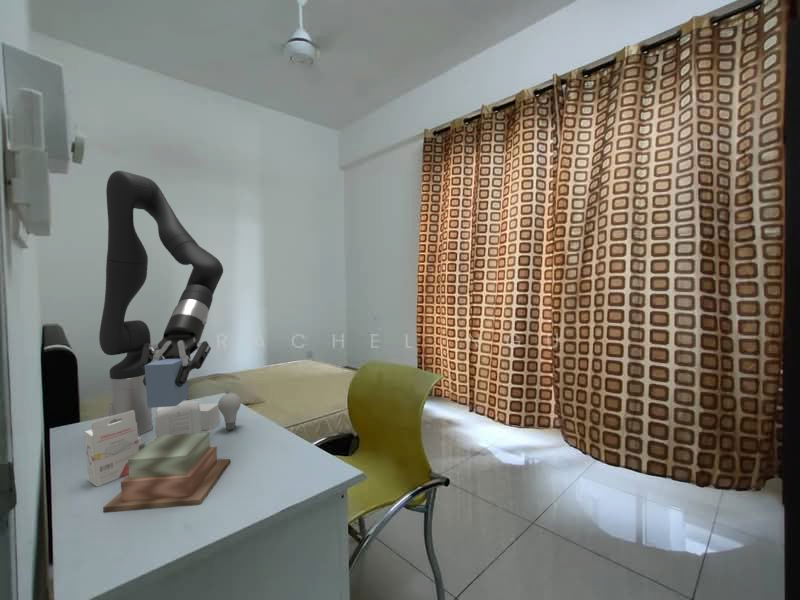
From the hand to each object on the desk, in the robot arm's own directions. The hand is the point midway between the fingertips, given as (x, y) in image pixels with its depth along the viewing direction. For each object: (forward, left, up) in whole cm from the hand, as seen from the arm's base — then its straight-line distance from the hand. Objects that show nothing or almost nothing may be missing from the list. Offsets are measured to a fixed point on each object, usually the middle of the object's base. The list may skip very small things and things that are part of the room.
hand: (163, 385), depth 74 cm
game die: (-19, +21, -23) cm, 36 cm away
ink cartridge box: (-16, +8, -23) cm, 29 cm away
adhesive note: (-7, +34, -23) cm, 42 cm away
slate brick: (0, +2, -4) cm, 5 cm away
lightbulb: (+2, +30, -23) cm, 38 cm away
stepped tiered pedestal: (0, +2, -23) cm, 23 cm away
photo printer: (-8, +21, -23) cm, 32 cm away
